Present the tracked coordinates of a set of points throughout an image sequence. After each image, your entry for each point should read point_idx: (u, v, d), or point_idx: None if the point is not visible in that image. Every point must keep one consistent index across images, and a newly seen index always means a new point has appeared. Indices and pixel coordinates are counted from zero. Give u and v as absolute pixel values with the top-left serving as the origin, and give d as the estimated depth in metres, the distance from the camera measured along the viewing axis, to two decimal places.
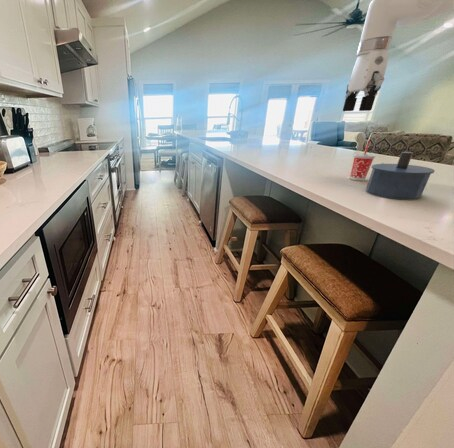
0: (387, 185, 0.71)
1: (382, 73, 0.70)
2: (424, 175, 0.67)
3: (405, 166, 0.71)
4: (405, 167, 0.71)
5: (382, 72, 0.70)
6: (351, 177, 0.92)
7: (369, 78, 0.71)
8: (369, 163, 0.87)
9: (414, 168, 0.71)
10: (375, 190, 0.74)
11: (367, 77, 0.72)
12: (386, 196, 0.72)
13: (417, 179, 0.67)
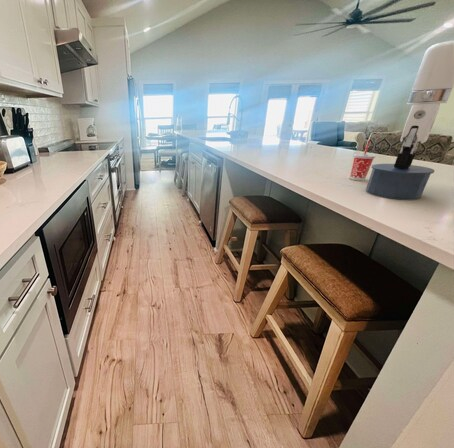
0: (387, 185, 0.71)
1: (423, 128, 0.63)
2: (424, 175, 0.67)
3: None
4: None
5: (423, 127, 0.63)
6: (351, 177, 0.92)
7: (403, 139, 0.67)
8: (369, 163, 0.87)
9: (414, 168, 0.71)
10: (375, 190, 0.74)
11: (403, 131, 0.66)
12: (386, 196, 0.72)
13: (417, 179, 0.67)
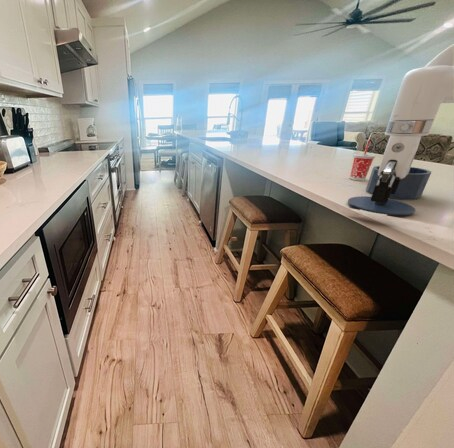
0: None
1: (402, 163, 0.56)
2: (424, 175, 0.67)
3: (383, 203, 0.63)
4: (383, 204, 0.63)
5: (402, 162, 0.56)
6: (351, 177, 0.92)
7: (383, 166, 0.58)
8: (369, 163, 0.87)
9: (393, 205, 0.63)
10: None
11: (381, 164, 0.59)
12: None
13: (417, 179, 0.67)
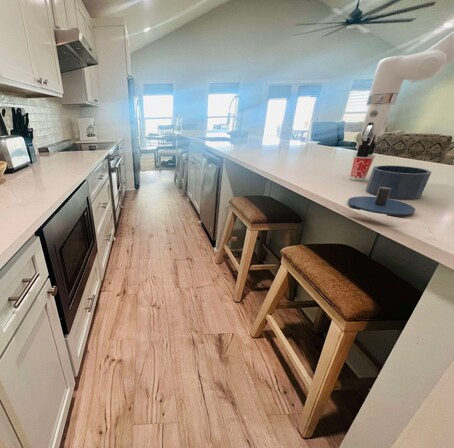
0: (387, 185, 0.71)
1: (377, 124, 0.80)
2: (424, 175, 0.67)
3: (383, 203, 0.63)
4: (383, 204, 0.63)
5: (377, 124, 0.80)
6: (351, 177, 0.92)
7: (363, 131, 0.83)
8: (369, 163, 0.87)
9: (393, 205, 0.63)
10: (375, 190, 0.74)
11: (363, 127, 0.83)
12: None
13: (417, 179, 0.67)
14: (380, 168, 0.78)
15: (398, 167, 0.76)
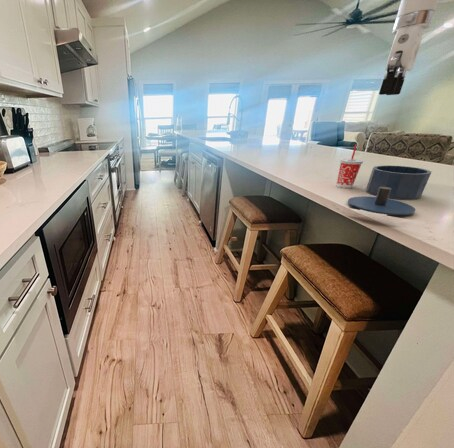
0: (387, 185, 0.71)
1: (407, 52, 0.65)
2: (424, 175, 0.67)
3: (383, 203, 0.63)
4: (383, 204, 0.63)
5: (407, 51, 0.65)
6: (337, 184, 0.84)
7: (390, 59, 0.67)
8: (356, 169, 0.79)
9: (393, 205, 0.63)
10: (375, 190, 0.74)
11: (388, 58, 0.68)
12: None
13: (417, 179, 0.67)
14: (380, 168, 0.78)
15: (398, 167, 0.76)
